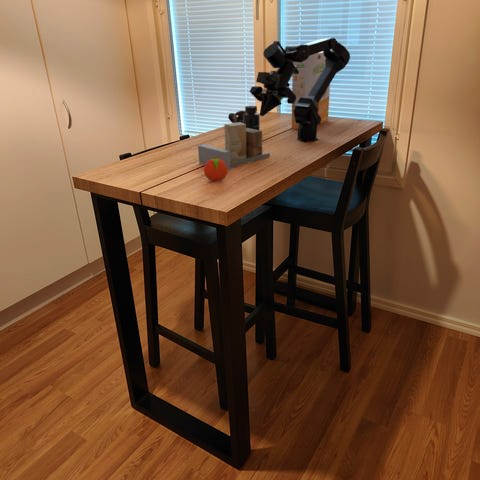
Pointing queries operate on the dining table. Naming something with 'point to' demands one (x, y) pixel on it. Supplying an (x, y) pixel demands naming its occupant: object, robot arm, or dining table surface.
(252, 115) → the supplement bottle
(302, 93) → the cereal box
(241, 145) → the skincare box
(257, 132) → the walnut block
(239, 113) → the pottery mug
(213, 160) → the red rounded fruit
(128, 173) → the dining table surface
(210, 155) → the backstop rail
